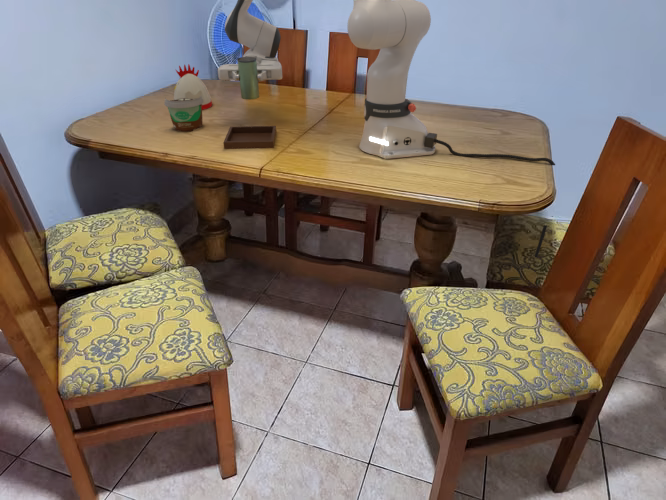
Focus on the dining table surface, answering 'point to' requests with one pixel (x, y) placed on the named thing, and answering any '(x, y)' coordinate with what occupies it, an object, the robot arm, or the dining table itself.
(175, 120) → the food container
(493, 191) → the dining table surface
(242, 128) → the tray
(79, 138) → the dining table surface
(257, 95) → the tin canister
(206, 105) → the kitchen timer
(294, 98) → the dining table surface
